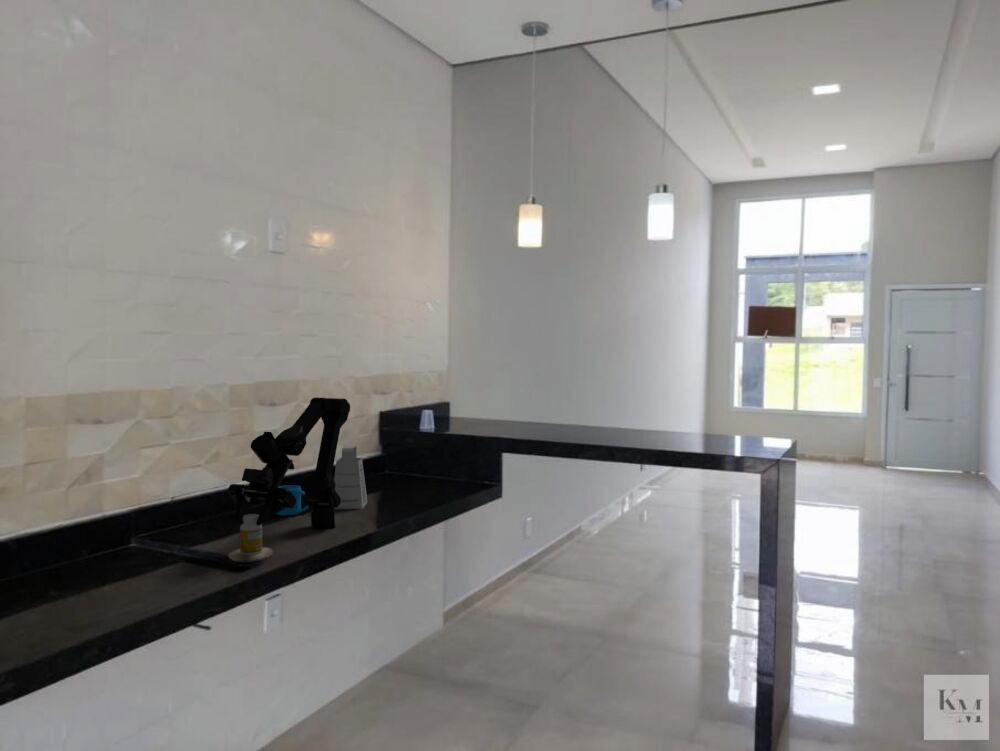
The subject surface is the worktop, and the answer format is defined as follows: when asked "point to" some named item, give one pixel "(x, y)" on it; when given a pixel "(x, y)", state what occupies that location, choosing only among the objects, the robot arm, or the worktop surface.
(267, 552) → the oak coaster
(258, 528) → the supplement bottle
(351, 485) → the grater
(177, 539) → the worktop surface
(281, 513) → the mug
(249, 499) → the robot arm
